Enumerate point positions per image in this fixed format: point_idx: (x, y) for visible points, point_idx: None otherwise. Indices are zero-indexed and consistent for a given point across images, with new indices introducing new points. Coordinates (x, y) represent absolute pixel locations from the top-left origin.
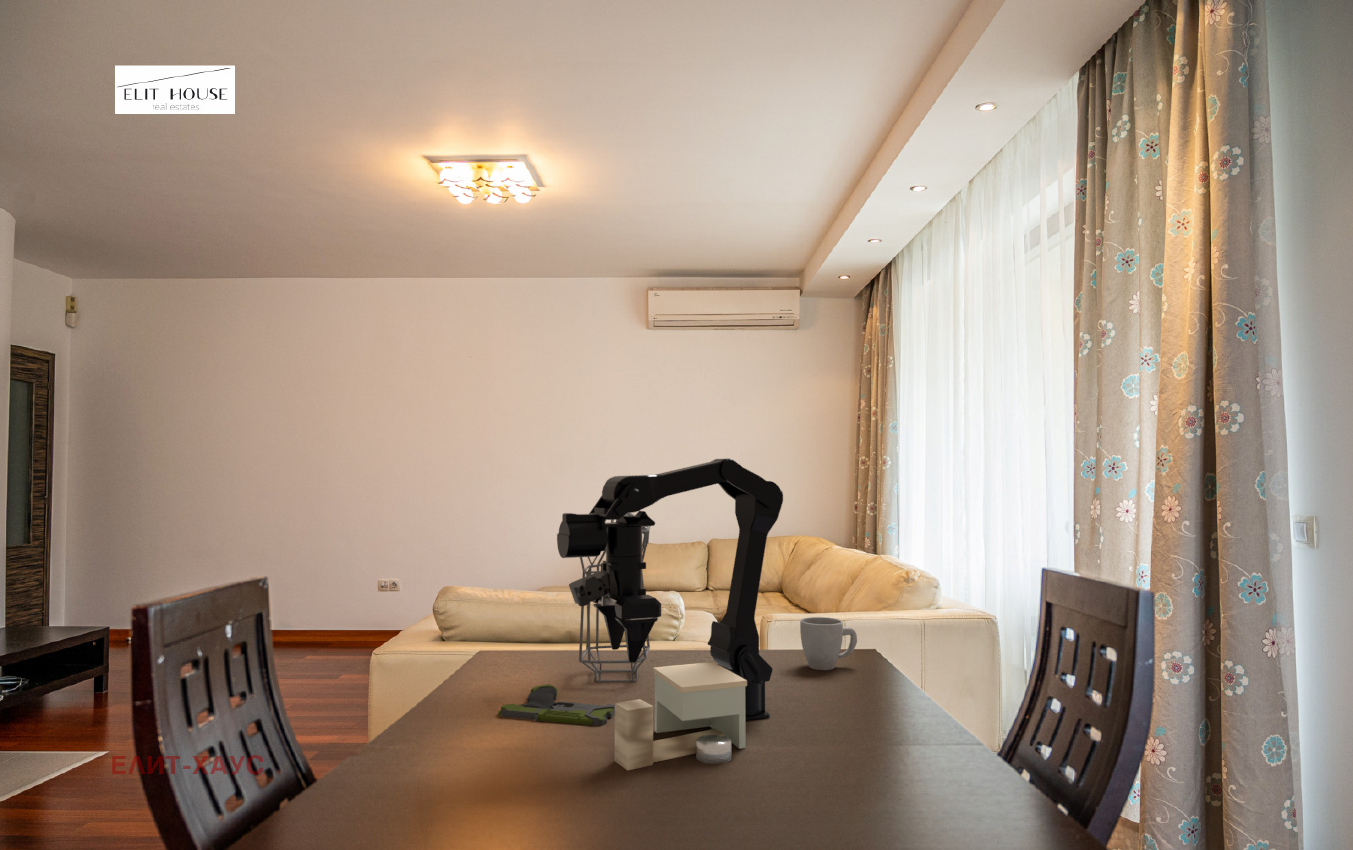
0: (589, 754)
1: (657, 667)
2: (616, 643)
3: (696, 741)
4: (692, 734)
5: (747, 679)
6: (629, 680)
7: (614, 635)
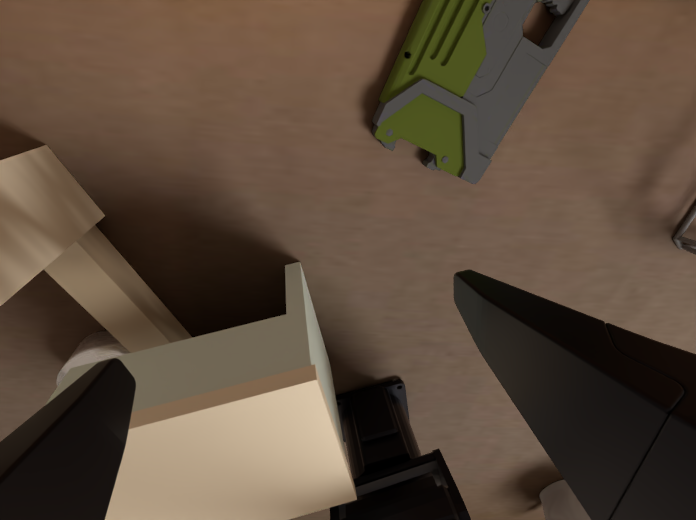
0: (98, 67)
1: (313, 391)
2: (469, 312)
3: (94, 356)
4: None
5: None
6: (682, 229)
7: (504, 337)
